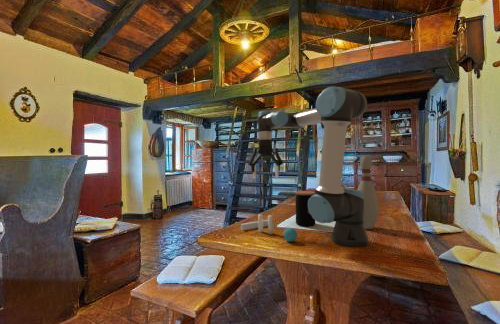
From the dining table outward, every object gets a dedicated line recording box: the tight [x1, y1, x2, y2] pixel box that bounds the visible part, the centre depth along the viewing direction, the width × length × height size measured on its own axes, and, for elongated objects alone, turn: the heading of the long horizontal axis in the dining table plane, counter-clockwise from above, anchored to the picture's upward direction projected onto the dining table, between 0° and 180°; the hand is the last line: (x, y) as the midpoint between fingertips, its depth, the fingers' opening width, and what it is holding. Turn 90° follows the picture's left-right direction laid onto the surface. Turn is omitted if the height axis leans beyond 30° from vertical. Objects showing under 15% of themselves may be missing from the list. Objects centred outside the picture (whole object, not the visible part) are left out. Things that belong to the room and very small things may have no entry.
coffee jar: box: [295, 190, 316, 228], centre depth 144 cm, size 11×11×18 cm
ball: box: [283, 227, 298, 243], centre depth 116 cm, size 6×6×6 cm
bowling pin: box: [356, 154, 380, 230], centre depth 136 cm, size 11×12×38 cm
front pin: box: [267, 215, 274, 235], centre depth 128 cm, size 2×2×9 cm
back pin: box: [257, 213, 264, 233], centre depth 131 cm, size 2×2×9 cm
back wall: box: [240, 219, 268, 231], centre depth 140 cm, size 2×18×3 cm, turn 121°
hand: (266, 177), depth 144 cm, fingers open, 13 cm apart
